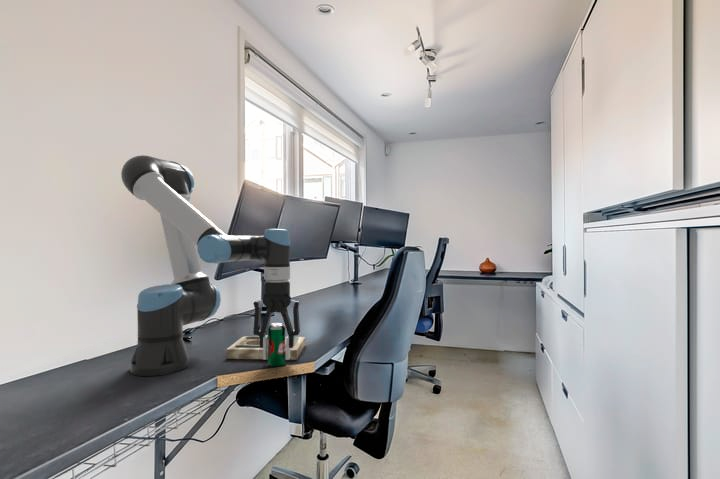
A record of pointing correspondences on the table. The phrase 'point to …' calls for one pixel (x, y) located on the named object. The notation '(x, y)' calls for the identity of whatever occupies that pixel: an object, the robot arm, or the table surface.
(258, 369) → the table surface
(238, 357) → the socket board
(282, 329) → the soda can
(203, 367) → the table surface
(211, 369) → the table surface
